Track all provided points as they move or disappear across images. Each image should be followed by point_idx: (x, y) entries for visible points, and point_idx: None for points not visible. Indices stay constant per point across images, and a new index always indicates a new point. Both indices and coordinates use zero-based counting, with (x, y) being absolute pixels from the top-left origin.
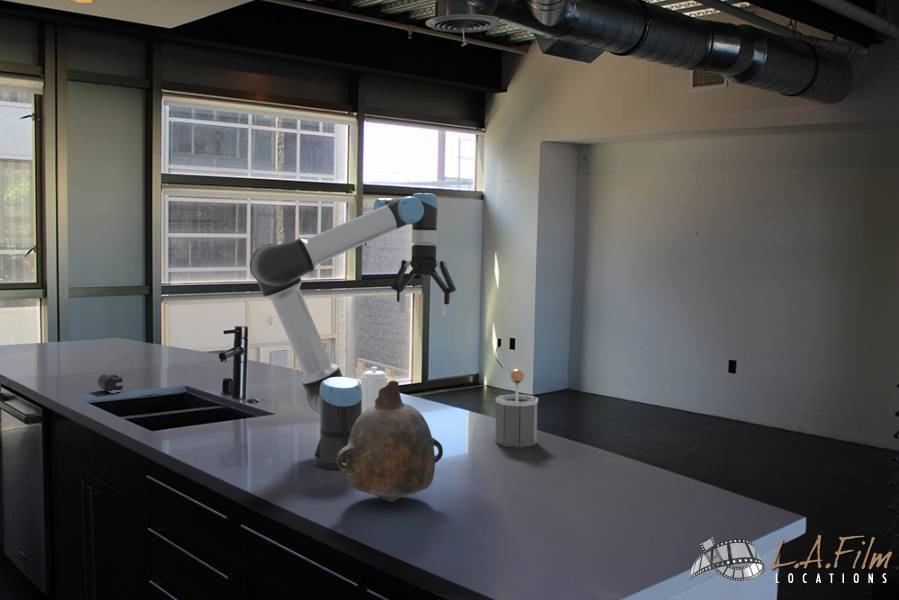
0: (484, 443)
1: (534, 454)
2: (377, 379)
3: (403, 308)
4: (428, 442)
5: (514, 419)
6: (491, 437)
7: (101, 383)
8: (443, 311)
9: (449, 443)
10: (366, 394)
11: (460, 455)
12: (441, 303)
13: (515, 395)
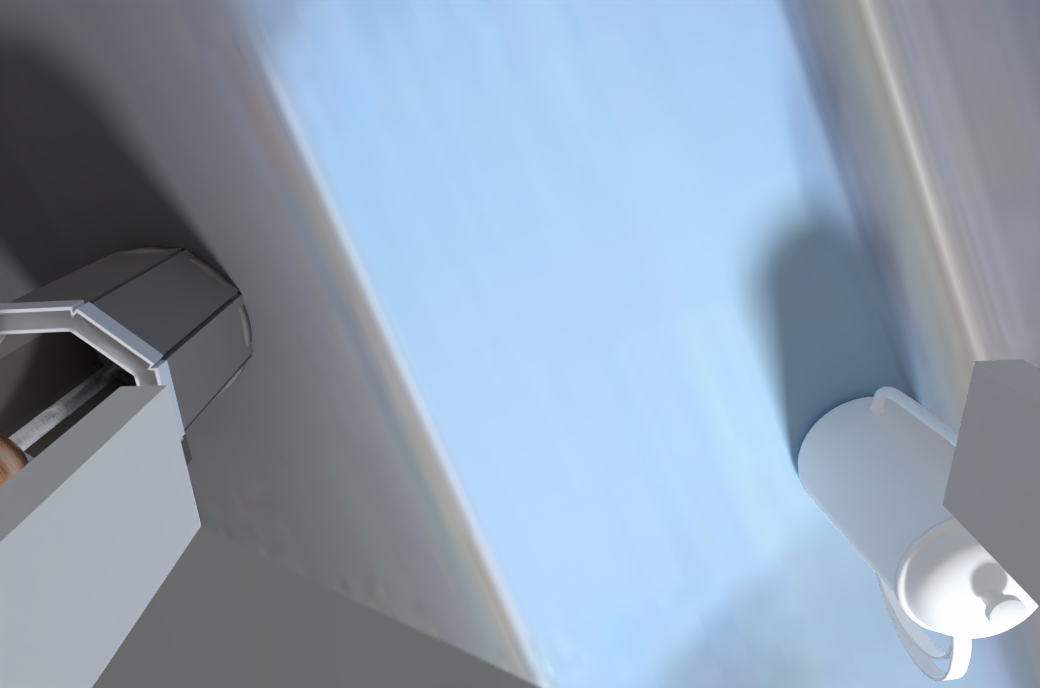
0: (277, 263)
1: (7, 169)
2: (936, 526)
3: (1008, 490)
4: None
5: (70, 283)
6: (295, 366)
7: None
8: (78, 427)
9: (411, 205)
10: (941, 419)
11: (278, 19)
12: (15, 523)
13: (54, 413)
